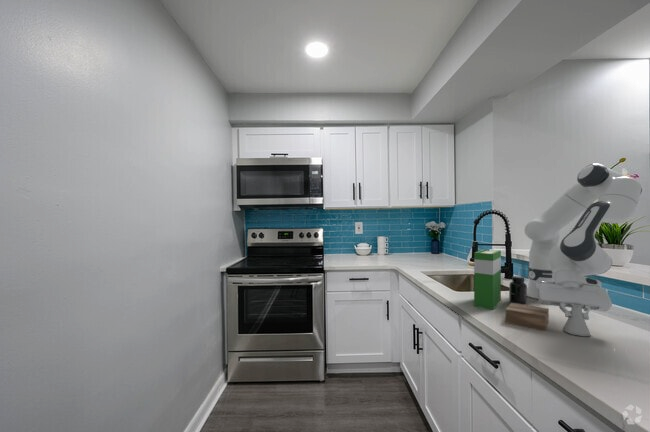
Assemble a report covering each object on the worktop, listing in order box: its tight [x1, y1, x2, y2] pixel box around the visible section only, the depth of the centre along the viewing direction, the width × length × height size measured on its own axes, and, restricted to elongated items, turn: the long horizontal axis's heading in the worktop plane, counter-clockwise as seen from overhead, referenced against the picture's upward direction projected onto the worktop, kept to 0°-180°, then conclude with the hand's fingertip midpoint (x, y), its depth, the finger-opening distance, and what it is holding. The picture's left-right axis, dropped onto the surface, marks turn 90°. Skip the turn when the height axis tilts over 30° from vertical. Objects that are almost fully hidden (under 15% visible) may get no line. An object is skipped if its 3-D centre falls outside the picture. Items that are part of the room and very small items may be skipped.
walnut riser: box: [505, 302, 550, 332], centre depth 110 cm, size 12×12×5 cm
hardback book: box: [473, 249, 502, 311], centre depth 134 cm, size 18×7×24 cm, turn 140°
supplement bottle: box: [508, 275, 528, 305], centre depth 136 cm, size 7×7×12 cm
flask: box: [562, 303, 592, 337], centre depth 100 cm, size 7×7×10 cm
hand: (577, 317), depth 100 cm, fingers closed on flask, 3 cm apart
